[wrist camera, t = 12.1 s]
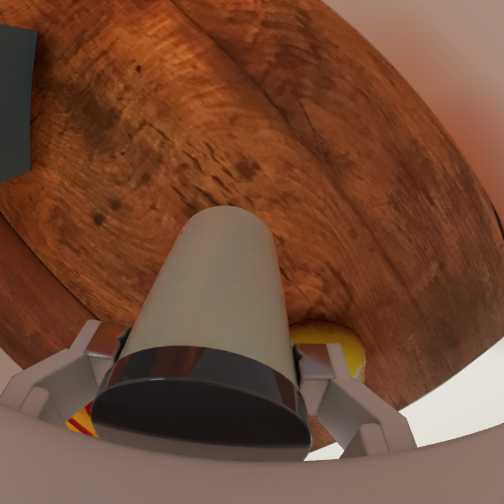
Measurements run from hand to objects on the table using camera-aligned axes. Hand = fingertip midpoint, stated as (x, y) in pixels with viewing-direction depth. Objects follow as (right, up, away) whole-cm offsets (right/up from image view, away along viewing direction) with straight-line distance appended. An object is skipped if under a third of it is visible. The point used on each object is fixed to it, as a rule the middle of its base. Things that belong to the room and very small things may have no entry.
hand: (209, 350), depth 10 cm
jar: (0, +3, +7) cm, 7 cm away
